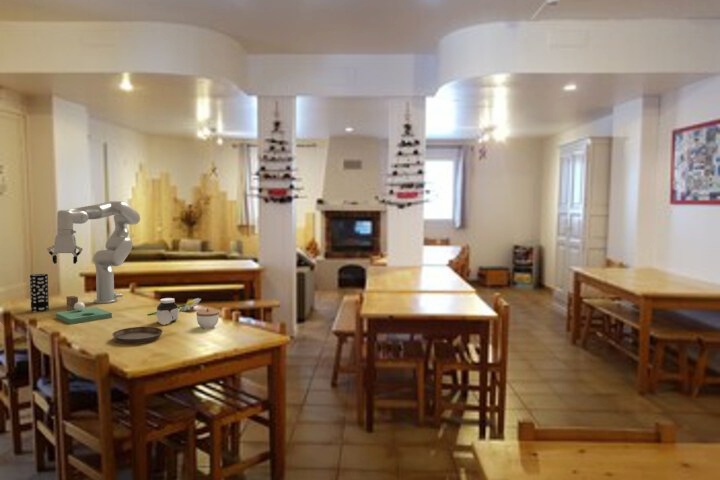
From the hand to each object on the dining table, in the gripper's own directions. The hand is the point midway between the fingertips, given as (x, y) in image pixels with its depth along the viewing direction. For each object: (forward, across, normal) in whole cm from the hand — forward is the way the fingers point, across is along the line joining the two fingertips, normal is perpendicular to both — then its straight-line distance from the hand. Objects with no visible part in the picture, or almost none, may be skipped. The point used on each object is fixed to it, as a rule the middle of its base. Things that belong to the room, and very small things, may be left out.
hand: (65, 263), depth 271 cm
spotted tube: (+27, +14, -5) cm, 30 cm away
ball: (+22, -11, +14) cm, 28 cm away
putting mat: (+27, -14, +19) cm, 36 cm away
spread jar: (+27, -57, +39) cm, 74 cm away
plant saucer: (+28, -47, +68) cm, 87 cm away
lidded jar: (+27, -77, +53) cm, 97 cm away
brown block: (+27, -5, +6) cm, 28 cm away
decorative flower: (+26, -58, +14) cm, 66 cm away
